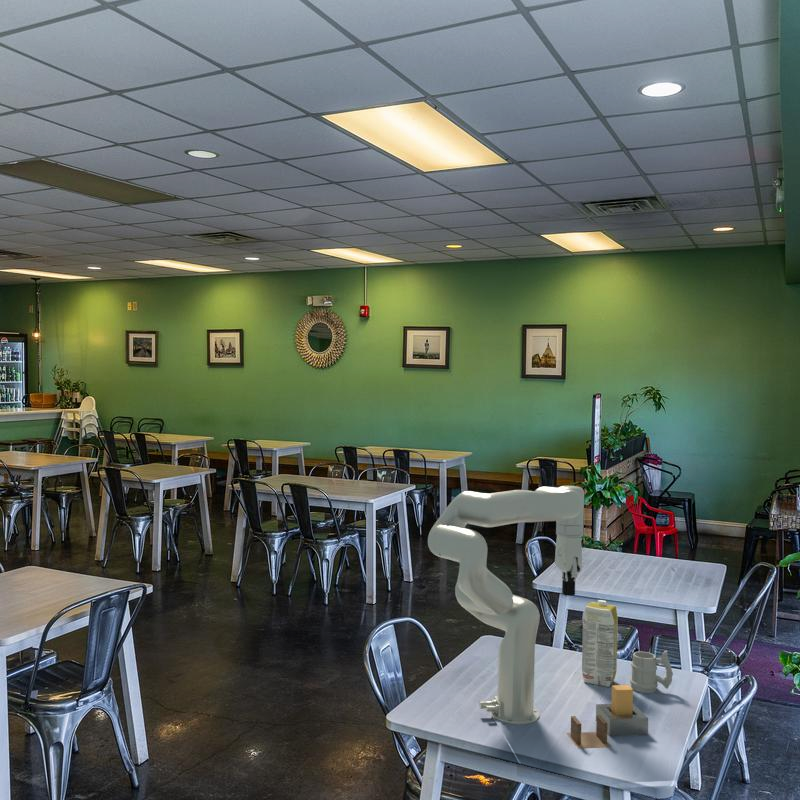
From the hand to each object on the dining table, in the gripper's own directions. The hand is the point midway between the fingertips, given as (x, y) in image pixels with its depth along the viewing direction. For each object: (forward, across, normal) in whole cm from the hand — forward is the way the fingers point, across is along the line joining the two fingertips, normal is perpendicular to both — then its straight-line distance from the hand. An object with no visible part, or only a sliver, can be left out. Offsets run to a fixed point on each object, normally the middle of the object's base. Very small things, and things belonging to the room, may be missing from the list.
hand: (568, 594), depth 210 cm
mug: (+29, -4, +27) cm, 40 cm away
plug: (+28, +22, +7) cm, 36 cm away
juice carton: (+29, -11, +14) cm, 34 cm away
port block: (+29, +22, +7) cm, 37 cm away
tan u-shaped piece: (+29, +28, -4) cm, 40 cm away
